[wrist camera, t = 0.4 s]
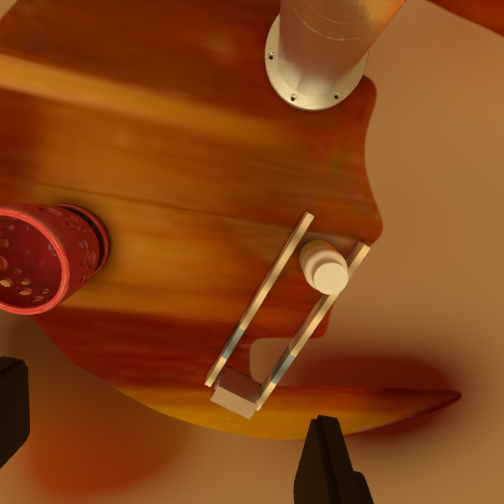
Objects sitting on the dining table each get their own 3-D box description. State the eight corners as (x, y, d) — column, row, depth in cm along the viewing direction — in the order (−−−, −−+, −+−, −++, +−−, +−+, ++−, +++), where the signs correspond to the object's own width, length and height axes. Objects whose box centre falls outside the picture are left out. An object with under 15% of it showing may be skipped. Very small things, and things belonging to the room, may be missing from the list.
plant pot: (41, 275, 45) (-38, 309, 33) (35, 193, 41) (-56, 199, 30) (120, 287, 44) (67, 324, 33) (120, 205, 41) (62, 215, 29)
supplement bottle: (338, 268, 41) (358, 294, 32) (303, 277, 42) (312, 305, 33) (330, 234, 40) (350, 251, 31) (294, 243, 41) (302, 263, 31)
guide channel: (305, 210, 40) (310, 215, 35) (364, 244, 40) (377, 252, 35) (208, 373, 48) (201, 395, 43) (258, 399, 48) (257, 423, 43)
